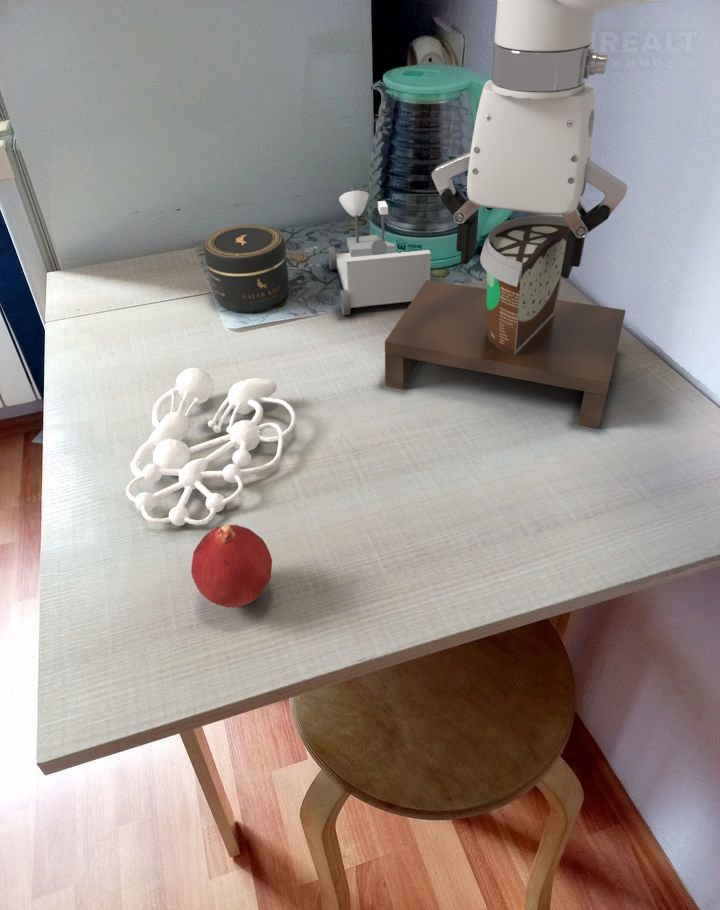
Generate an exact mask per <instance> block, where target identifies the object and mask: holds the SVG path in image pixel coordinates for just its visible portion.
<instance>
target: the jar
mask: <svg viewBox="0 0 720 910" xmlns="http://www.w3.org/2000/svg"><path fill="white" fill-rule="evenodd" d="M203 253H204V263H205V266H206V268H207V273H208V278H209V284H210V288H211V291H212V294H213V296H214V298H215V300H216V302H217V303H218V304H219V305H220V306H222V307H223V308H224V309H226V310H227V311H230V312H233V313H242V314H245V313H246V314H247V313H248V314H251V313H259V312H264V311H267V310H270V309H272V308H274V307H276V306H277V305H279V304H280V303H281V302H283V300H284V298H285V297H286V296H287V293H288V287H289V271H288V262H287V249H286V242H285V238H284V236H283V234H282V232H280V231H279V230H278V229H275V228H273V227H271V226H267V225H262V224H261V225H260V224H242V225H241V224H240V225H234V226H230V227H225V228H223V229H220V230H218V231H216V232H214V233H212V234H211V235H209V236H208V237H207V238H206V239H205V241H204V244H203Z"/></svg>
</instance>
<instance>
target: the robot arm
mask: <svg viewBox="0 0 720 910" xmlns="http://www.w3.org/2000/svg"><path fill="white" fill-rule="evenodd" d="M665 1H667V0H497V1H496V2H497V3H496V15H495V28H494V40H493V41H494V44H493V54H492V66H491V78H490V79H489V80H487V81H485V83H484V85H483V88H482V90H481V95H480V98H479V102H478V107H477V112H476V115H475V122H474V127H473V132H472V133H473V134H472V140H471V147H470V151H468V152H466V153H463V154H462V155H459V156H457V157H455V158H453V159H450V160H448V161H446V162H444V163H441V164H439V165H437V166H436V167H435V168H434V169H433V171H432V172H431V174H430V175H431V179H432V181H433V183H434V186H435V188H436V190H437V192H438V193H439V195H440V197H439V199H440V202H441V203H442V205H444V206H445V207H446V209H447V210H448V212H450V213H451V215H452V217H453V221H454V222H455V223H456V224H457V227H456V228H457V229H456V247H455V249H456V252H460V264H461V265H467V264H470V262H471V260H472V258H473V257H474V255H475V253H476V249H477V248H476V246H477V237H478V236H477V235H478V225H479V224H478V223H479V216H478V215H477V212H476V211H477V210H478V209H480V207H482V208H489V209H496V210H497V209H498V210H505V211H515V212H524V213H531V214H541V215H550V216H561V217H563V218H564V220H565V221H566V223H567V224H568V226H569V227H570V232H569V234H568V237H567V240H566V246H565V252H564V259H563V265H562V271H561V276H562V279H569V278H570V275H571V272H572V271H573V270H572V269H573V267H575V268H579V267H580V266H581V262H582V257H583V251H584V246H585V240H586V237H587V235H588V234H589V233H590V232H591V231H594V229H596V228H597V227H598V226H600V225H601V224H603V223H604V222H606V221H607V220H608V219H609V217H610V215H612V213H613V212H614V211H615V210H616V208H618V206H619V205H620V204H621V202H622V201H623V200H624V198H625V197H626V195H627V192H628V185H627V184H626V183H625V182H624V181H622V180H621V179H619V178H618V177H616V176H615V175H613V174H612V173H610V172H608V171H607V170H606V169H604V168H602V167H601V166H599V165H598V164H596V162H594V161H592V160H591V153H592V147H593V133H594V125H595V124H594V122H595V86H594V85H593V84H591V83H589V82H586V80H588V79H589V78H590V76H595V75H596V74H598V75H605V74H606V69H607V65H608V58H609V55H608V54H600V53H599V52H596V51H595V48H593V47H592V46H593V41H592V39H593V32H594V26H595V20H596V14H597V13H599V12H601V13H602V12H608V11H615V10H621V9H626V8H632V7H637V6H640V5H644V4H652V3H658V2H665ZM465 172H467V178H466V179H467V180H466V194H467V198H465V197H464V195H462V193H461V192H460V191H459V190H458V188H457V187H456V186H455V185H454V181H453V178H454V177H456V176H458V175H460V174H463V173H465ZM587 183H588V184H590V185H591V186H592V187H594V188H595V189H597V190H599V191H600V192H602V194H604V197H603V199H602V200H601V201H600V202H599V203H598V204H596V205H594V206H593V208H591V209H590V210H588V209H587V208H586V206H585V205H584V203H583V201H582V200H581V197H583V196H584V193H585V191H586V186H587Z"/></svg>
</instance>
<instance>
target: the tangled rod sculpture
mask: <svg viewBox="0 0 720 910" xmlns="http://www.w3.org/2000/svg"><path fill="white" fill-rule="evenodd" d="M277 389H278V384H277V382H276V381H274V380H272V379H268V378H266V377H265V378H264V377H252V378H247V379H245V380H240V381H237V382H235V383H234V384H233V385H232V386H231V387H230V388H229V391H228V393H227V397H226V398H225V400H224V401H222V403H221V405H220V406H219V407H218V409H217V411H216V413H215V414H214V416H213V419H210V420H208V422H207V425H208V427H209V428H212V431H213V432H214V433H216V434H218V433H220V432H221V431H222V426H223V424H224V422H225V420H226V418H227V416H228V414H229V413H230V411H231V410H233V412H232V414H231V416H230V420H229V425H228V426H227V427H226V433H227V434H225V435H223V436H219V437H216V438H213V439H209V440H207V441H205V442H202V443H199V444H196V445H193V446H190V447H188V446H187V444H185V443H184V442H183V441H182V440H184V439H185V438H186V437H187V435H188V434H189V431H190V421H189V419H188V417H189V415H190V413H191V411H192V409H193V408H194V407H195V406H196V405H198V406H199V405H201V404H204V403H206V402H207V401H208V400H209V399H210V398H211V396H212V395H213V392H214V381H213V379H212V376H211V375H210V374H209V373H208V372H207V371H206V370H204V369H203V368H199V367H188V368H186V369H184V370H182V371H181V372H180V374H179V375H178V376H177V377H176V381H175V387H173V388H171V389H169V390H168V391H167V392H165V393H163V394H162V395H161V396H160V397H159V398H158V399H156V402H155V404H153V407H152V412H151V422H152V423H151V424H152V426H153V427H154V428H155V430H153V432H152V433H151V434H150V435H149V437H148V440H147V441H146V442H144V443H143V444H141V446H140V447H139V448H138V449H137V451H136V452H135V455H134V457H133V459H132V460H131V461H130V470H131V472H132V474H133V475H134V478H133V479H132V480H131V481H130V482H129V483H128V484H127V485H126V489H125V495H126V496H127V498H128V499H129V500H130V501H132V502H133V503H134V504H135V507H136V509H138V510H139V511H140V512H141V515H142V517H143V519H145V520H147V522H149V523H153V524H166V523H171V524H172V525H173V526H177V527H181V526H184V525H185V524H189V525H194V526H201V525H207V524H208V523H210V521H212V519H213V518H214V517H215V515H216V513H220V512H221V511H223V510H224V508H225V507H226V504H228V503H230V502H232V501H233V500H235V499H237V498H238V497H239V496H240V495H241V493H242V492H243V490H244V483H243V480H242V476H243V475H251V474H256V473H259V472H263V471H266V470H268V469H271V468H272V467H274V466H275V465H277V463H278V462H279V461H280V459H281V457H282V454H283V448H284V439H285V438H286V437H287V436H289V434H290V433H292V431H293V430H294V428H295V426H296V424H297V415H296V411H295V410H294V408H293V407H292V405H291V404H289V403H288V402H287V401H285V400H283V399H280V398H273V397H271V396H273V394H274V393H275V392H276V391H277ZM177 395H178V398H179V399H180V400H181V401H180V404H179V407H178V410H177V411H175V406H176V396H177ZM170 399H171V407H170V411H169V413H168V414H166V415H165V416H164V417H163V418H162V419H161V420H160V418H161V416H160V415H161V410H162V407H163V406H164V405H165V404H166V403H167V402H168V401H170ZM262 402H263V403H269V404H270V403H271V404H278V405H281V406H283V407H285V408H286V410H288V412H289V414H290V416H291V421H290V424H289V426H288V427H287V428H286V429H285V430H284V431H283V428H282V427H281V426H280V425H279V424H277V423H276V422H265V423H261V424H260V422H261V420H262V418H263V415H264V407H263V405H262V404H261V403H262ZM185 403H186V404H188V405H189V406H188V408H187V410H186V412H185V414H184V413H183V412H182V411H183V408H184V405H185ZM228 404H229V405H228ZM227 405H228V406H227ZM226 406H227V408H225V407H226ZM224 409H225V411H224V412H223V414H222V411H223V410H224ZM253 411H255V414H254V415H253V417H252V419H250V420H248V419H241V420H239V421H236V422H235V419H236V417H237V414H240V415H243V416H244V415H248V414H250V413H251V412H253ZM221 414H222V416H221ZM220 416H221V417H220ZM219 418H220V419H219ZM218 419H219V421H218ZM217 421H218V424H217ZM268 428H269V429H270V428H273V429H275V430H276V431H277V435H275V436H265V435H264V436H263V435H262V433H261V430H264V429H268ZM225 442H226V443H225ZM260 442H264V443H275V442H277V449H276V453H275V456H274V458H273V459H271V460H270V461H269V462H267V463H265V464H263V465H260V466H256V467H252V468H251V467H250V468H246V467H247V466H249V465H250V464H251V461H252V455H251V453H250V451H252V450H254V449H256V448H257V446H258V445H259V443H260ZM222 443H224V444H223V445H222V446H220V447H219V448H217V449H216V450H215V451H213V452H211V453H210V454H209V455H207V456H206V457H201V458H197V459H194V460H191V454H193V453H197V452H200V451H202V450H206V449H208V448H210V447H215V446H217V445H220V444H222ZM233 447H234V448H235V449H236V450H235V451H234V452H233V454H232V457H231V458H232V459H231V460H232V463H229V464H227V465H226V466H225V467H223V469H222V470H207V468H208V465H209V464H210V463H211V462H213V461H214V460H215V459H217V458H218V457H220V456H221V455H223V454H224V453H225V452H228V451H229V450H230V449H231V448H233ZM152 448H154V450H153V453H152V462H151V463H148V464H147V465H145V466H144V467H143V469H141V468H140V465H141V463H142V461H143V458H144V455H145V454H146V453H147V452H148V451H149V450H150V449H152ZM241 468H242V469H241ZM162 476H176V477H177V476H178V482H175V483H173V484H171V485H169V486H167V487H165V488H163V489H161V490H159V491H156V492H154V493H151V492H148V491H142V492H140V493H139V494H137V496H134V495H133V494H132V489H133V487H134V486H135V485H136V484H138V482H140V481H141V480H145V481H146V482H148V483H156V482H158V481H160V480H161V479H162ZM207 478H209V479H212V478H223V480H225V482H227V483H230V484H234V483H237V489H236V490H235V492H233V493H232V494H231V495H229V496H228V497H224V495H222V494H221V493H219V492H212V491H211V490H209V488H207V487H206V486H205V485H204V484H203V483H202V482H203V479H207ZM182 488H184V490H183V492H182V494H181V496H180V499H179V501H178V503H177V505H176V506H174V507H172V508H171V509H170V511H169V513H168V517H163V518H162V517H161V518H157V517H153V516H151V515H150V514H148V512H150V511H152V510H153V508H155V506H156V501H157V500H159V499H161V498H164V497H165V496H167V495H168V496H169V495H170V494H172V493H174V492H176V491H178V490H180V489H182ZM196 489H197V490H198V491H199V492H200V493H201V494H202V495H203V496H204V497H206V499H205V507H206V509H207V510H208V511H209V515H208V516H206V517H205V518H203V519H193V518H190V512H189V510H188V509H187V508H186V505H187V503H188V501H189V499H190V497H191V495H192V493H193V491H194V490H196Z"/></svg>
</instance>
